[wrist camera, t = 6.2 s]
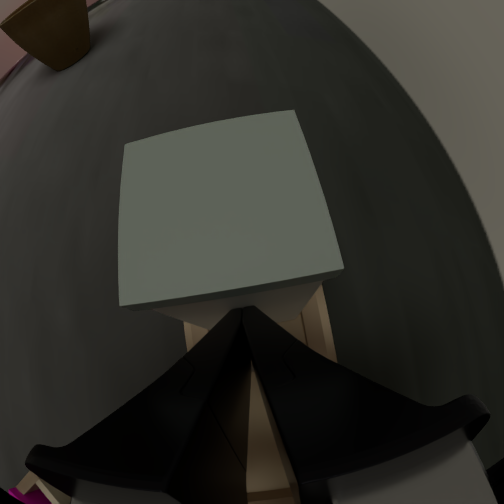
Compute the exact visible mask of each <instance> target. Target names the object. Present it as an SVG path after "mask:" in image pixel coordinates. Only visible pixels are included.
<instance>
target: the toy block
mask: <svg viewBox="0 0 504 504" xmlns="http://www.w3.org/2000/svg"><path fill="white" fill-rule="evenodd" d="M9 494H10V495H12V496H13V497H15V498H17V499H18V500H20V501H22V502H23V503H25V504H52V503H51V502H50V500H49V499H48V498H47V497H46V496H45V494H44V493H43V492H42V491H41V489H38V490H35V491H33V492H30V493H27V494H25V495H23V494H22V493H21V492H20V491H19V490H18V489H17V488H16V487H15V488H12V489H9Z"/></svg>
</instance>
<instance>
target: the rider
mask: <svg viewBox="0 0 504 504" xmlns="http://www.w3.org/2000/svg"><path fill="white" fill-rule="evenodd" d="M343 269H344V266H343V262H342V258H341V254H340V250H339V247H338V243H337V239H336V236H335V232H334V229H333V225H332V222H331V218H330V215H329V211H328V208H327V205H326V201H325V198H324V195H323V192H322V188H321V185H320V182H319V179H318V176H317V173H316V170H315V167H314V164H313V161H312V158H311V155H310V152H309V149H308V147H307V144H306V141H305V138H304V135H303V133H302V130H301V127H300V125H299V122H298V119H297V117H296V114H295V111H294V110H288V111H280V112H272V113H264V114H257V115H251V116H244V117H238V118H233V119H227V120H222V121H216V122H211V123H207V124H202V125H197V126H193V127H188V128H184V129H180V130H176V131H172V132H168V133H164V134H160V135H156V136H152V137H149V138H145V139H142V140H138V141H135V142H132V143H128V144H125V148H124V157H123V166H122V177H121V189H120V205H119V228H118V280H119V303H120V306H121V307H124V308H127V309H130V310H132V311H139V310H147V309H152V310H154V311H157V312H159V313H162V314H165V315H168V316H170V317H173V318H176V319H179V320H182V321H184V322H187V323H190V324H193V325H196V326H199V327H202V328H205V329H208V330H211V329H212V328H213V327H214V326H215V325H216V324H217V323H218V322H219V321H220V320H221V319H222V318H223V317H224V316H225V315H226V314H227V313H228V312H229V311H230V310H231V309H235V308H242V309H243V308H244V307H247V306H253V305H254V306H256V307H257V308H258V309H260V310H261V311H262V312H263V313H265V314H266V315H267V316H268V317H270V318H271V319H272V320H274V321H275V322H276V323H278V322H283V321H289V320H294V319H296V317H297V316H298V315H299V313H300V312H301V311H302V310H303V308H304V307H305V306H306V304H307V303H308V301H309V300H310V299H311V297H312V296H313V295H314V293H315V292H316V291H317V289H318V288H319V287H320V285H321V284H322V282H323V281H324V280H327V279H332V278H337V276H338V275H339V274H340V273H341V272H342V271H343Z"/></svg>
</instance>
